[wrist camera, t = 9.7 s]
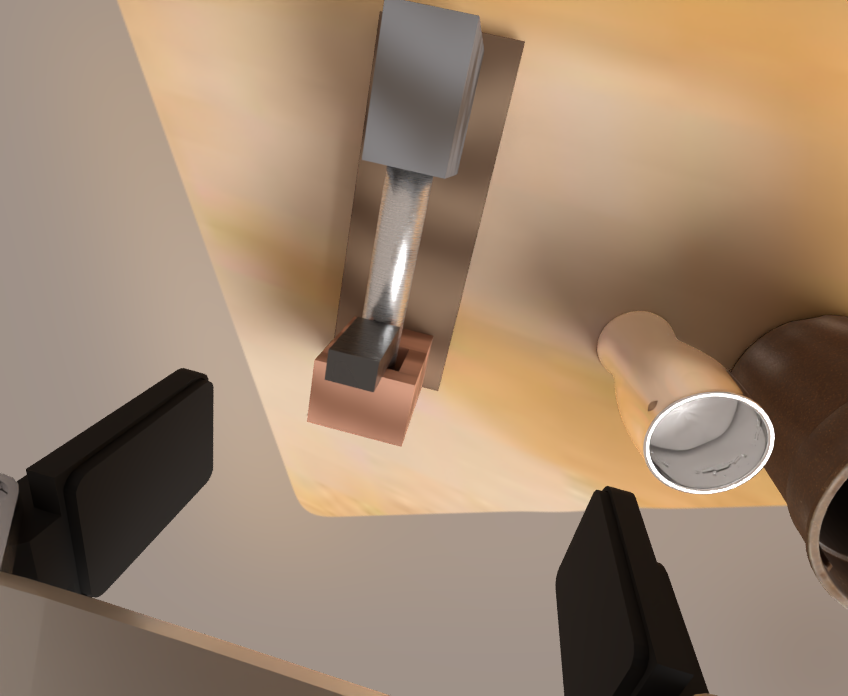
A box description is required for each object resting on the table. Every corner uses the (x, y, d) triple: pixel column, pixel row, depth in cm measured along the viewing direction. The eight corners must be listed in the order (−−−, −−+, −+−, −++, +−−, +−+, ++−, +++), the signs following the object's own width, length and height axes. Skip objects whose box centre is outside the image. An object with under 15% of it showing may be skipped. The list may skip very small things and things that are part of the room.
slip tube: (401, 113, 30) (363, 95, 22) (446, 123, 30) (426, 109, 21) (357, 374, 37) (316, 435, 29) (393, 384, 37) (363, 448, 29)
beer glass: (658, 391, 40) (739, 512, 27) (579, 370, 41) (619, 477, 27) (694, 317, 38) (807, 409, 24) (609, 295, 38) (672, 372, 24)
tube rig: (384, 17, 33) (334, -45, 23) (523, 46, 33) (534, -4, 22) (336, 357, 44) (287, 416, 34) (439, 383, 43) (421, 452, 33)
